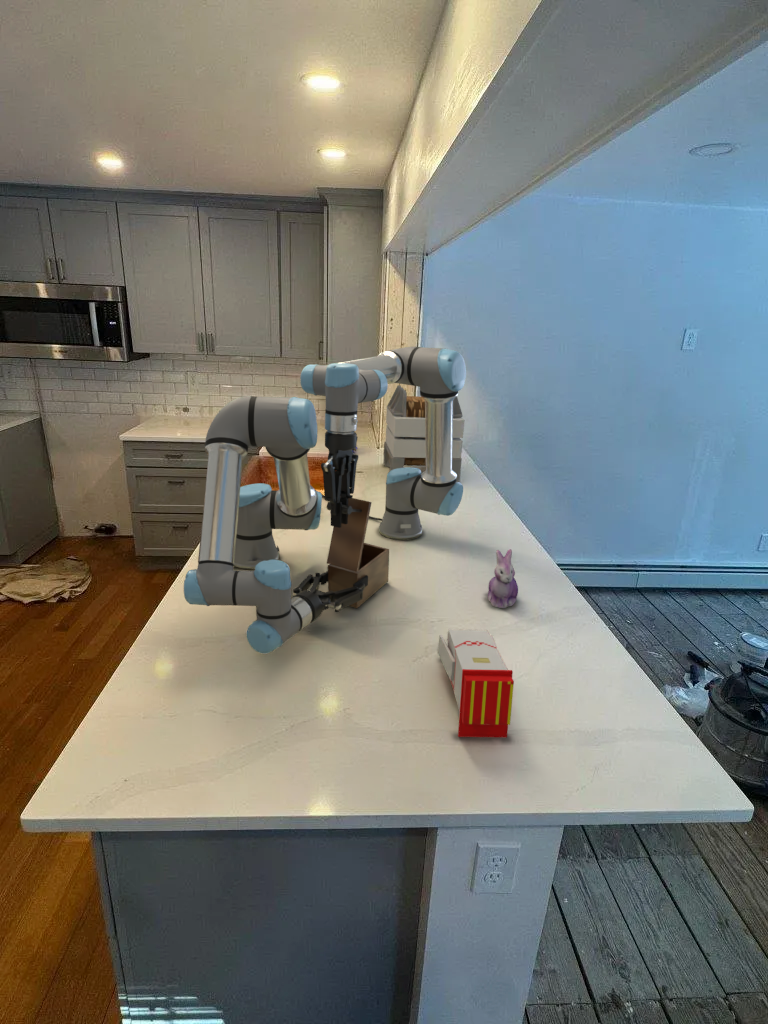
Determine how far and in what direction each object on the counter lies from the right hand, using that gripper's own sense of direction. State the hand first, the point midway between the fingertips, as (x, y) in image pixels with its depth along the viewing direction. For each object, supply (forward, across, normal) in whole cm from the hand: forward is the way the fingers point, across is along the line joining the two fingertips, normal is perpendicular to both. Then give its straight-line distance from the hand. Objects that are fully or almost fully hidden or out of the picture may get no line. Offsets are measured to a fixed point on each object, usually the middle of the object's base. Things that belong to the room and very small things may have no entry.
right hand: (339, 524), depth 141 cm
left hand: (+17, +6, 0) cm, 18 cm away
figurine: (+23, +28, -36) cm, 51 cm away
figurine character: (+23, +147, +86) cm, 172 cm away
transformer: (+23, +131, +38) cm, 138 cm away
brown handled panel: (+4, +5, 0) cm, 7 cm away
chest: (+23, +11, 0) cm, 26 cm away
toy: (+24, -15, -42) cm, 51 cm away
